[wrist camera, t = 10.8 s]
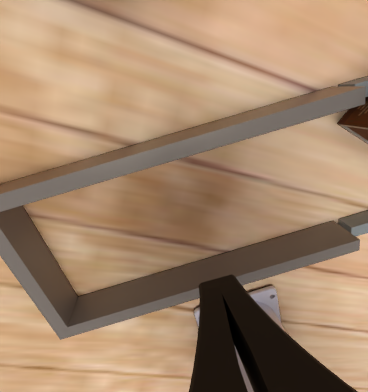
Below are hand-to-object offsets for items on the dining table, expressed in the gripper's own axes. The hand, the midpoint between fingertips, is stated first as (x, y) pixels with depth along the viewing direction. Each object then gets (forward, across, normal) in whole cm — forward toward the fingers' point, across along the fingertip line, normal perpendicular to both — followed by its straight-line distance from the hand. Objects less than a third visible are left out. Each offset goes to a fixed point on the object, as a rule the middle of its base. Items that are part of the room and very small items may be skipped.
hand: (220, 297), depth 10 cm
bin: (+10, 0, +1) cm, 10 cm away
